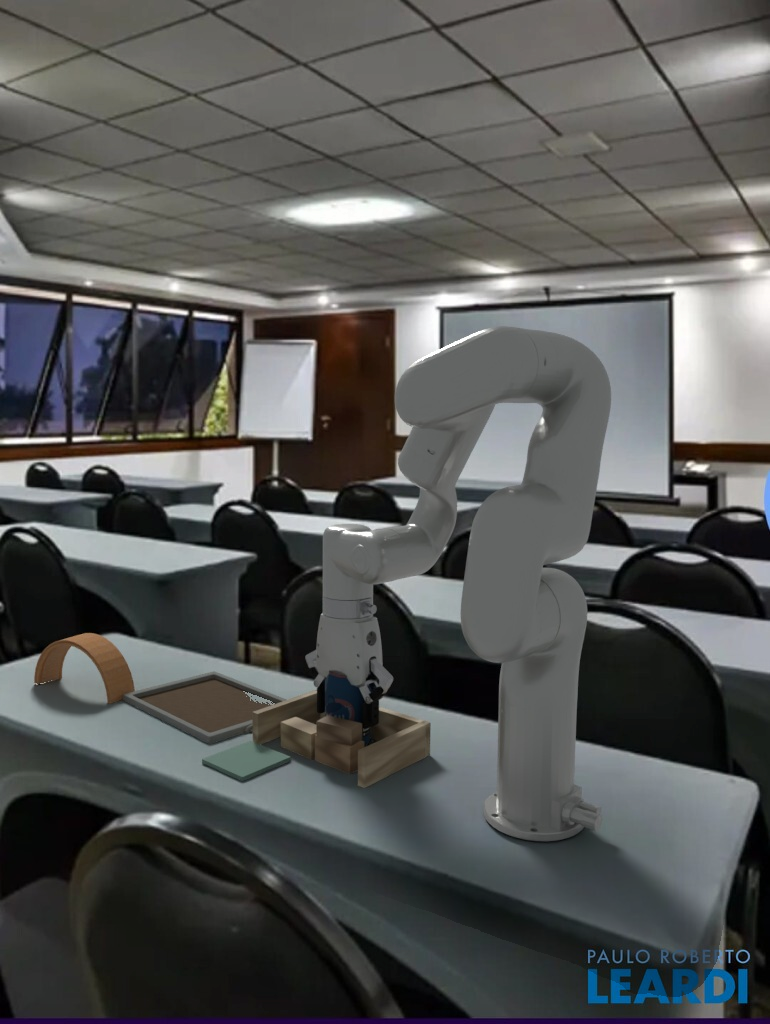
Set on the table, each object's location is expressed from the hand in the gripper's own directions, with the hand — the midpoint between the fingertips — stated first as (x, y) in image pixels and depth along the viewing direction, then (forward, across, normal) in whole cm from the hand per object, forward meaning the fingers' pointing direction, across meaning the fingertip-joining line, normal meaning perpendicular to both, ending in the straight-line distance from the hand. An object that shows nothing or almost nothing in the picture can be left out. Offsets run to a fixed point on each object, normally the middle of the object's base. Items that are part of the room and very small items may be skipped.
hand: (347, 718), depth 125 cm
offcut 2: (+4, -4, +6) cm, 8 cm away
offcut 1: (+5, +4, +6) cm, 8 cm away
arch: (+5, +54, +13) cm, 55 cm away
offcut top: (0, -4, +6) cm, 7 cm away
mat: (+4, +7, +14) cm, 16 cm away
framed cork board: (+5, +28, +3) cm, 29 cm away
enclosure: (+4, 0, +1) cm, 4 cm away
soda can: (+5, 0, 0) cm, 5 cm away
